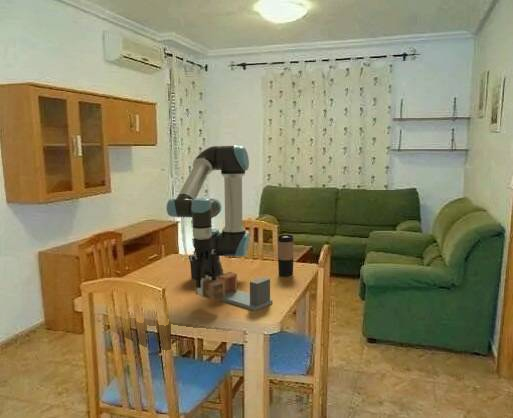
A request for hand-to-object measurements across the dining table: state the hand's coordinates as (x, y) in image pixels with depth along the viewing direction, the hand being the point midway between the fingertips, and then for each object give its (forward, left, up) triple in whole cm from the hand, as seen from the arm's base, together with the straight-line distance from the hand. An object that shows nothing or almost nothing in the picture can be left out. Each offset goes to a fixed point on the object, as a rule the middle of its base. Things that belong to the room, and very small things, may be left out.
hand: (204, 293), depth 182 cm
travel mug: (-1, +56, -6) cm, 56 cm away
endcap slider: (-2, +15, -4) cm, 16 cm away
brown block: (+3, 0, -1) cm, 3 cm away
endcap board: (+6, +15, -6) cm, 17 cm away
